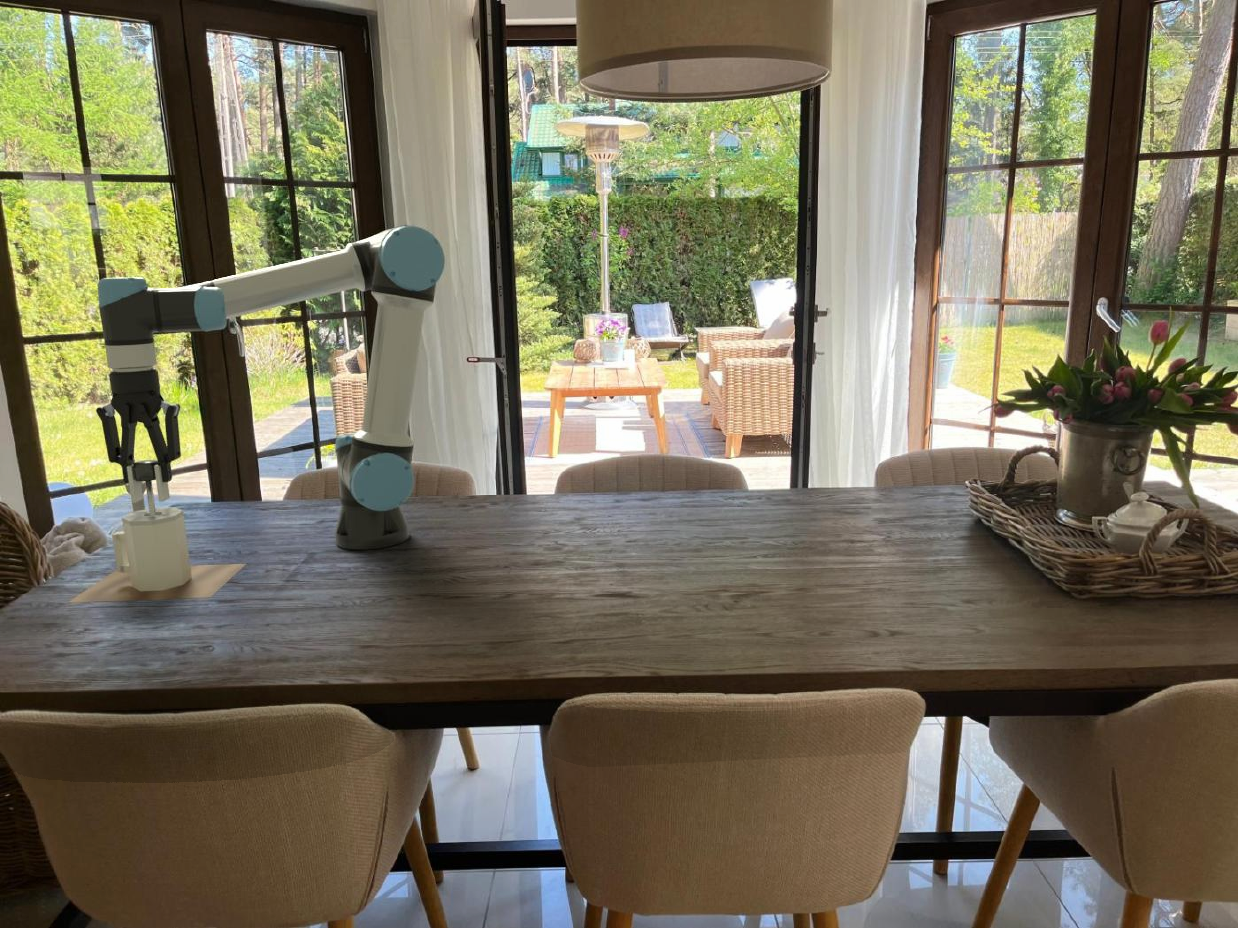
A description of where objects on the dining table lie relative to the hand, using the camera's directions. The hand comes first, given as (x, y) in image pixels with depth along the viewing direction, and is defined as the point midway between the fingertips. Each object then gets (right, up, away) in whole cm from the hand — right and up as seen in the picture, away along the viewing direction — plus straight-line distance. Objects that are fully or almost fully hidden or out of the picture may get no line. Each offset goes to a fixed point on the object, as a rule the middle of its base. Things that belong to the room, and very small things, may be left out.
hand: (150, 499), depth 161 cm
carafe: (-1, -15, +3) cm, 15 cm away
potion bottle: (-12, -13, +21) cm, 27 cm away
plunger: (0, -13, +3) cm, 13 cm away
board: (0, -16, +4) cm, 17 cm away
